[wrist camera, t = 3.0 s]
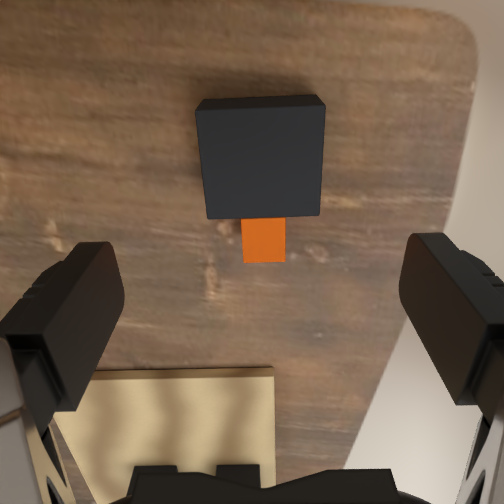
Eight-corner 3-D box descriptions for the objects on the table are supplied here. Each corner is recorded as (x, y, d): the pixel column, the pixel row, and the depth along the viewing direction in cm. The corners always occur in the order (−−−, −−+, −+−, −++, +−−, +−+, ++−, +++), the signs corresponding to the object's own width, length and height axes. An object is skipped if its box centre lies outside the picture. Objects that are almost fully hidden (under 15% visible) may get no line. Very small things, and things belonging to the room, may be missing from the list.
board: (273, 367, 30) (274, 376, 29) (275, 501, 41) (276, 511, 40) (41, 371, 31) (35, 381, 30) (104, 502, 41) (100, 512, 41)
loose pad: (317, 94, 20) (326, 104, 17) (310, 235, 24) (317, 260, 21) (202, 99, 20) (194, 109, 17) (216, 238, 24) (212, 264, 21)
